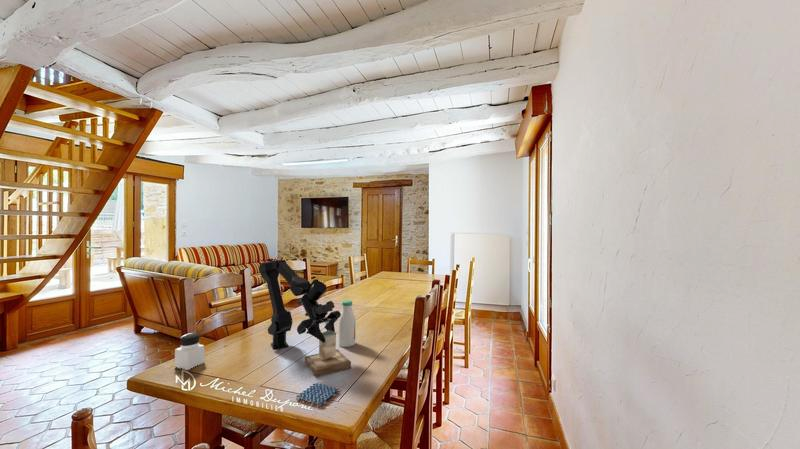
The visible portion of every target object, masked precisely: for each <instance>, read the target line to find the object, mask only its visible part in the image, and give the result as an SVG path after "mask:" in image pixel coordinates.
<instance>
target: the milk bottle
mask: <svg viewBox="0 0 800 449" xmlns="http://www.w3.org/2000/svg"><path fill="white" fill-rule="evenodd" d="M341 304H342V305H341V307H342V310H341V312H340V314H341V316H340V317H339V318H338V342H337V343H338V345H339V347H342V348H349V347H353V346H355V344H356V315H355V313H354V311H353V301H352V300H343V301H342V302H341Z"/></svg>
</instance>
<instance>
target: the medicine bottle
mask: <svg viewBox="0 0 800 449" xmlns="http://www.w3.org/2000/svg"><path fill="white" fill-rule="evenodd" d="M205 355H206V354H205V345H204V344H200V335H199V333H195V332H191V333H190V332H189V333H186V334H184V335H182V336H181V337H180V347H177V348H175V349H174V368H176V367H177V369H181V368H182V369H181V370H186V371H189V370H191V368H192V369H193V367H194V368H195V366H196V367H197V365H198V366H200V365H202V364H204V363H205V358H206V357H205Z"/></svg>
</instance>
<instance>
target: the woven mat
mask: <svg viewBox="0 0 800 449" xmlns="http://www.w3.org/2000/svg"><path fill="white" fill-rule="evenodd" d="M340 393H341V391H340V390H339V388H336V387H334V386H329V385H326V384H322V383H318V382H317V383H312V385H310V386H309V387H308V388H306V389H305V390H303V391H302V392H300V393H299V394H298V395H296V399H295V401H297V402H300V403H302V404H306V405H307V406H313V407H316V408H320V409H322V408H324V407H325V406H326V405H327V404H328V403H330V402H331V401H332V400H333V399H334V398H336V397H337V396H338V395H339V394H340Z"/></svg>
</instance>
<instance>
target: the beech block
mask: <svg viewBox="0 0 800 449" xmlns="http://www.w3.org/2000/svg"><path fill="white" fill-rule="evenodd" d="M322 334H323V336H324V338H325V342H324V343H323V342H322V341H320V340H319V339H318V340H319V341H318V342H319V343H318V344H319V346H318V348H319V349H318V353H319V357H321V358H324V359H328V358H330V357H332V356H334V355H336V350H337V349H336V348H337V331H335V332H333V331H330V330H328V331H327V330H326V331H323V332H322Z"/></svg>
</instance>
